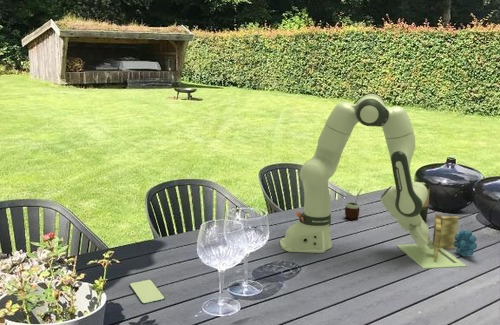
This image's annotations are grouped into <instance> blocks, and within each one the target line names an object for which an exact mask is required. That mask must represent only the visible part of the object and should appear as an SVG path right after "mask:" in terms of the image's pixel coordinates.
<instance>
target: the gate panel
mask: <svg viewBox="0 0 500 325" xmlns="http://www.w3.org/2000/svg"><path fill="white" fill-rule="evenodd" d="M440 232H441V219H436V231H435V241H434V260H437V258H438V249H439V239H440Z"/></svg>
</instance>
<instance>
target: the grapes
mask: <svg viewBox="0 0 500 325" xmlns="http://www.w3.org/2000/svg"><path fill="white" fill-rule="evenodd" d="M455 240H456V241H455V242H454V244H453V245H454V246H455V253H456V254H458V255H461V256H462V257H463V258H466V257H468V256H470V257H471V256H473V255H474V253H475V250H476V249H477V248H478V244H477V243H476V241H477V236H476V235H475V234H473V232H472V230H470V229H469V230H468V229H467V230H465V229H461V230H460V231H459V233H457V234H456V235H455Z"/></svg>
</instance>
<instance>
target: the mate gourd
mask: <svg viewBox="0 0 500 325" xmlns="http://www.w3.org/2000/svg"><path fill="white" fill-rule="evenodd" d="M362 190H363V189H362V188H361V189H360V190H359V191H358V193H357V194H356V198H355V202H348V203H346V204H345V208H344V215H345V220H350V221H349V222H352V221H354V220H355V221H359V215H360V205H359V204H358V203H357V202H358V198H359V196H360V193H361V192H362Z"/></svg>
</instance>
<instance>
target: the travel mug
mask: <svg viewBox="0 0 500 325" xmlns="http://www.w3.org/2000/svg"><path fill="white" fill-rule="evenodd" d="M414 182H420V183H422V184H424V185H425V186H426V188H427V190H428V196H427V199H426V201H425V203H424V205H423V207H422V210H421V212H420V216H421V217H422V219H423V221H424V222H425V223H427V220H428V210H429V202H430V190H431V182H430V181H426V180H414Z"/></svg>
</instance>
